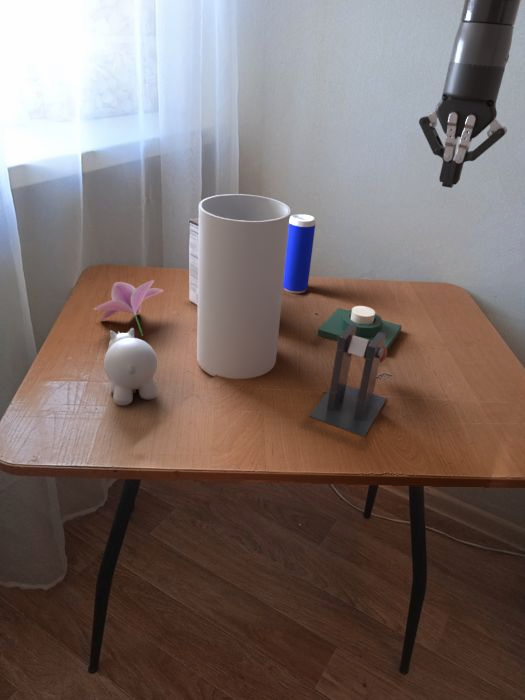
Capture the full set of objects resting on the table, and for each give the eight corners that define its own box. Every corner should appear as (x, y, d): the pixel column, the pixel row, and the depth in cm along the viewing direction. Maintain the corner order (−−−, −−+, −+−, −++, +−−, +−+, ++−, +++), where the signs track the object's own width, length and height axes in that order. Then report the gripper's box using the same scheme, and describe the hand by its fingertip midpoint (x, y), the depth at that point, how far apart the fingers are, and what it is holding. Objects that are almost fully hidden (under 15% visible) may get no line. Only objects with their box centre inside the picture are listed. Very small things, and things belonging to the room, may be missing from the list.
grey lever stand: (334, 387, 85) (346, 312, 78) (385, 405, 82) (402, 328, 76) (308, 422, 77) (319, 342, 71) (363, 442, 74) (380, 361, 68)
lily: (175, 321, 102) (157, 270, 100) (173, 327, 90) (152, 270, 88) (112, 342, 101) (93, 291, 99) (101, 351, 89) (79, 294, 88)
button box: (399, 336, 101) (403, 316, 99) (382, 360, 93) (387, 339, 91) (337, 318, 105) (340, 298, 103) (316, 340, 97) (319, 319, 95)
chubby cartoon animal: (145, 359, 88) (143, 311, 84) (163, 403, 79) (162, 351, 74) (98, 365, 85) (93, 316, 81) (111, 411, 76) (106, 358, 72)
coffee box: (225, 289, 112) (228, 210, 104) (246, 300, 108) (251, 220, 100) (187, 300, 107) (188, 218, 99) (208, 313, 103) (210, 228, 95)
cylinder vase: (254, 393, 82) (267, 228, 69) (181, 369, 86) (181, 209, 74) (287, 355, 92) (303, 204, 79) (220, 335, 96) (225, 189, 83)
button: (376, 318, 98) (378, 309, 97) (369, 327, 95) (371, 318, 94) (354, 312, 99) (356, 303, 98) (347, 321, 96) (348, 312, 95)
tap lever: (362, 360, 87) (369, 338, 86) (384, 367, 85) (391, 345, 85) (340, 355, 73) (349, 329, 73) (366, 363, 72) (375, 337, 72)
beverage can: (311, 288, 116) (320, 217, 108) (300, 296, 112) (308, 223, 104) (289, 281, 118) (296, 211, 110) (277, 289, 114) (284, 217, 106)
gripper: (424, 56, 77) (399, 183, 86) (525, 67, 73) (488, 199, 82) (436, 55, 83) (412, 174, 92) (530, 65, 79) (495, 189, 87)
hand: (447, 186), depth 87 cm, fingers closed
